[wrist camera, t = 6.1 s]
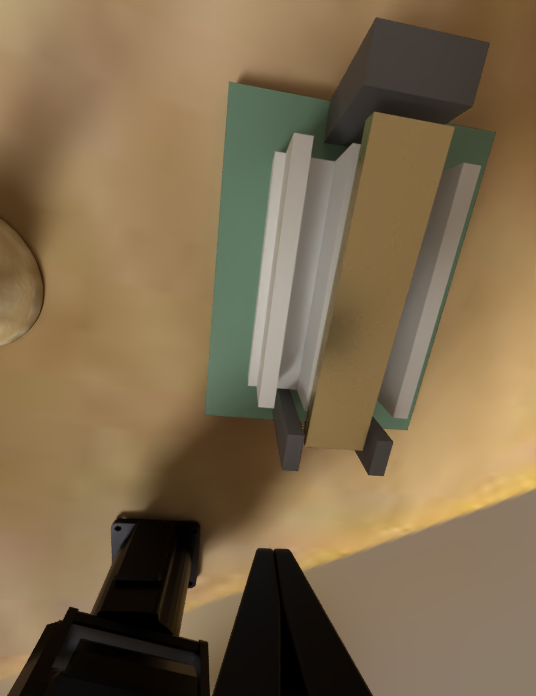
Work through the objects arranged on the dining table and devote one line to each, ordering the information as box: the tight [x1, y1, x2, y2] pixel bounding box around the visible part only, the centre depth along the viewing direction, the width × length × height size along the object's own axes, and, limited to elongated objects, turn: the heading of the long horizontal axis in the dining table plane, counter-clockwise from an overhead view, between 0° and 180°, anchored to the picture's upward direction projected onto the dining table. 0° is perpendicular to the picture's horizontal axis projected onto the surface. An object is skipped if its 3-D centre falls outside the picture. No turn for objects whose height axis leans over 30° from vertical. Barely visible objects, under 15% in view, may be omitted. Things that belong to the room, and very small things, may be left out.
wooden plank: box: [303, 112, 455, 451], centre depth 13 cm, size 14×3×1 cm, turn 173°
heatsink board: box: [205, 18, 496, 476], centre depth 16 cm, size 18×14×6 cm
